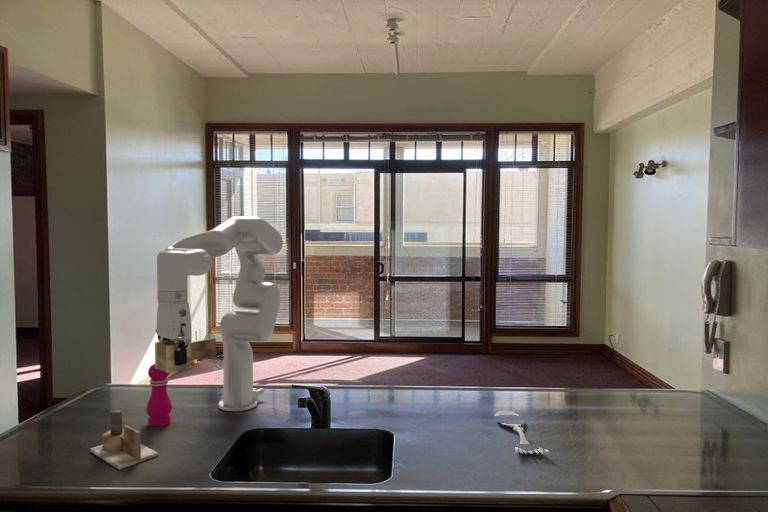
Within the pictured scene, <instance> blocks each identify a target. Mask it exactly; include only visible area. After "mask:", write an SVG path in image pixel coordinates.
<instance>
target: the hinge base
mask: <svg viewBox="0 0 768 512" xmlns="http://www.w3.org/2000/svg"><path fill="white" fill-rule="evenodd" d="M109 415H110V419H109V420H110V425H109V426H110V430H108V431H106V432H104V433H103V434H102V436H101V437H102V444H101V445H97V446H94V447H91V448H90V449H89V451H90V452H91V453H92V454H94V455H95V456H96V457H99V458H100V459H102V460H103V461H105V462H107V463H108V464H110V465H112V466H113V467H115V468H116V469H118V470H122V469H125V468H127V467H131V466H133V465H137V464H139V463H142V462H146V461H147V459H148V460H150V458H151V459H154V458H156V457H158V456H159V452H157V451H156V450H154V449H152V448H150V447H148V446H146V445H144V444H142V442H141V441H142V440H141V437H142V436H141V431H140V430H137V429H136V428H134V427H131V426H130V425H129V424H128V425H127V424H126V425H123V410H121V409H115V410H111V411H110V413H109ZM153 457H154V458H153Z"/></svg>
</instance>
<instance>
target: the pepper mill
mask: <svg viewBox="0 0 768 512" xmlns="http://www.w3.org/2000/svg"><path fill="white" fill-rule="evenodd" d="M147 374H148V376H149V378H150V380H149V382H150V383H149V385H150V386H151V394H150V398H149V400H148V403H147V404H146V407H145V408H146V411H145V412H146V415H148V416H149V417H148V418H147V424H148V426H149V425H150V426H149V427H152V426H160V427H163V426H162V425H165V426H167V425H169V424H170V423H171V415H170V414H171V412H172V411H173V404H172V401H171V399H170V397H169V394H168V391H167V386H168V385H167V384H168V383H169V381H168V380H169V378H168V377H169V375H170V373H167V372H164V371H162V370H159V369H156V368H155V363H153V364H151V366H149V368H148V372H147ZM168 423H169V424H168ZM166 424H167V425H166Z"/></svg>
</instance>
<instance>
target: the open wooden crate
mask: <svg viewBox="0 0 768 512" xmlns="http://www.w3.org/2000/svg"><path fill="white" fill-rule="evenodd" d="M181 342H182V341H179V345H180V343H181ZM216 342H217V341H216V338H215V337H212V338H206V339H202V340H196V341H192V340H191V341H190V342H189V345H188V349H187V363H186V364H183V365H178V366H176V365H175V351H176V347H175V343H174V340H167V341H162V342H159V341H156V342H154V364H155V368H156V369H159V370H162V371H164V372H167V373H169V374H170V373H174V372H178V371H183V370H187V369H191V368H192V361H197V360H201V359H206V358H210V357H215V356H216V352H217V351H216V348H217V347H216V346H217V345H216Z"/></svg>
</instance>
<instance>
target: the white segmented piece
mask: <svg viewBox="0 0 768 512" xmlns="http://www.w3.org/2000/svg"><path fill="white" fill-rule="evenodd" d="M499 415H516V416H519V415H520V414H518V413H517V412H514V411H511V410H499V411H497V412H496V413H495V414H494V416H499ZM502 424H504V425H507V426H510V427H509V428H512V430H513V431H515V432H517V433H518V435H519V438H520V442H519V444H529V443H530V442H529V441H528V439H527V437H526V436H525V433H524V427H522V426H523V425H522V424H506V423H502ZM504 425H503V426H504ZM521 425H522V426H521ZM507 426H506V427H507ZM519 426H520V427H519ZM514 450H515V453H516V454H519V453H518V452H520V454H522V455H523V454H524V453H525V454H524V455H528V454H527V452H526V451H525V450H523V449H521V448H518V447H516V446H515V447H514ZM537 450H538V451H539V452H540V453H541V454H539V452H538V451H537ZM522 451H523V452H524V453H523V452H522ZM534 451H535V452H536V453H537V454H538V455H544V454H547V455H549V454H550V451H549V449H546V448H542V447H539V449H535V450H534ZM528 452H529V453H530V454H533V452H532V451H528ZM530 454H529V455H530ZM537 454H536V455H537ZM533 455H534V454H533Z"/></svg>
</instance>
